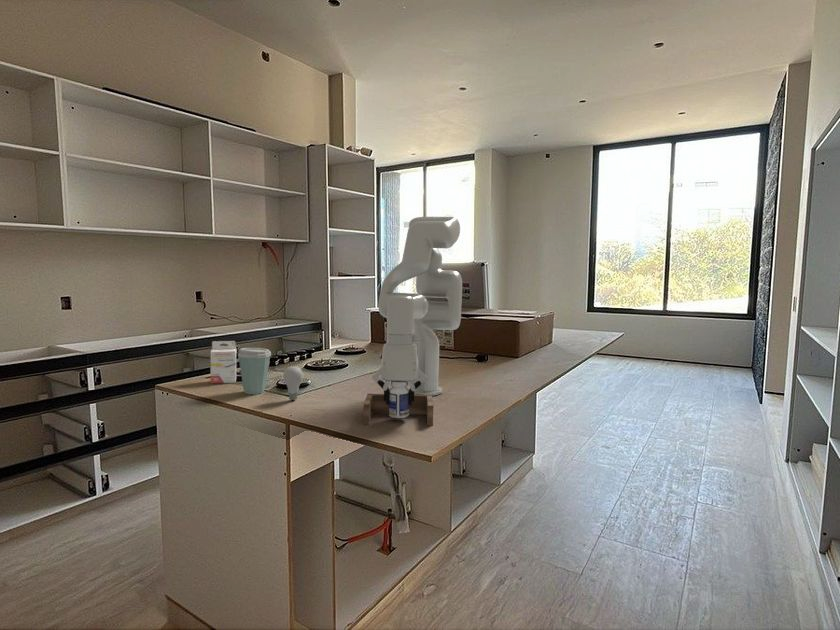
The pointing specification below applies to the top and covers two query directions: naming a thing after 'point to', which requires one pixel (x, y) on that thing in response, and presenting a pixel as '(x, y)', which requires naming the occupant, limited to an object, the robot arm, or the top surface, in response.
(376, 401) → the open wooden frame
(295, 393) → the lightbulb
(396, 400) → the pill bottle
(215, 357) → the ink cartridge box
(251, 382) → the disposable coffee cup
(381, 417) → the top surface
